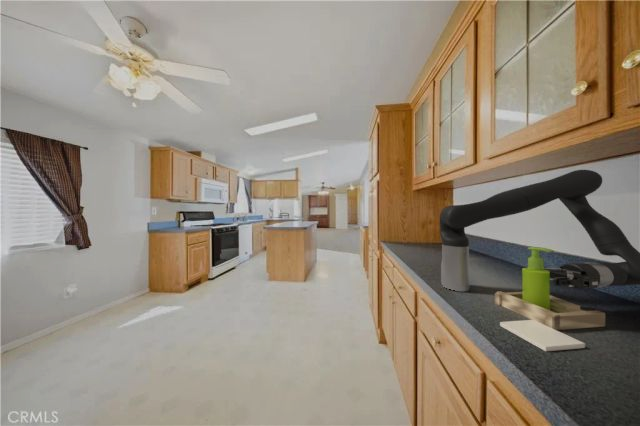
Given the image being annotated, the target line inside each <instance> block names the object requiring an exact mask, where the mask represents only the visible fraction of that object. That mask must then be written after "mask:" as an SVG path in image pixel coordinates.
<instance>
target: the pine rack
mask: <svg viewBox="0 0 640 426" xmlns="http://www.w3.org/2000/svg"><path fill="white" fill-rule="evenodd" d="M494 304H495V305H496V306H498V307H503V308H505V309H508V310H510V311H512V312H514V313H515V314H516V313H517V314H518V315H521V316H522V317H525V318H527V319H528V320H535V321H537V322H539V323H541V324H544V325H546V326H548V327H550V328H552V329H555V330H557V331H561V330H562V331H563V330H574V329H576V330H577V329H585V328H586V329H587V328H599V327H606V312H603V311H600V310H584V311H583V312H568V313H555V312H552V311H550V310H547V309H545V308H542V307H540V306H537V305H534V304H532V303H529V302H527V301H524V300H523V297H522V291H513V292H503V291H502V290H501V291H496V292H495V293H494Z"/></svg>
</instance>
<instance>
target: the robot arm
mask: <svg viewBox="0 0 640 426" xmlns="http://www.w3.org/2000/svg"><path fill="white" fill-rule="evenodd" d="M601 175H602V174H601ZM601 175H600V174H599V173H598V172H596V171H594V170H589V169H577V170H573V171H570V172H568V173H565V174H562V175H560V176H557V177H554V178H552V179H548V180H544V181H539V182H537V183H531V184H529V185H528V184H527V185H524V186H521V187H517V188H512V189H509V190H504V191H502V192H500V193H496V194H494V195H492V196H490V197H487V198H486V199H483V200H481V201H478V202H477V201H476V202H473V203H466V204H456V205H455V204H454V205H449V206H444V208H443V209H442V210H441V211H440V213H439V235H440V238H441V251H442V252H441V255H442V256H441V258H442V259H441V262H440V283H441V284H440V285H443V286H442V287H443V288H444V287H445V288H444V289H446V288H447V289H446V290H449V289H451V290H450V291H453V290H455V292H469V290H470V251H469V250H470V239H469V238H468V237H467V235H466V232H465V231H466V230H465V229H466V228H468V227H470V226H473V225H476V224H478V223H481V222H485V221H487V220H492V219H498V218H503V217H508V216H512V215H516V214H520V213H525V212H528V211H531V210H534V209H536V208H538V207H541V206H543V205H546V204H548V203H551V202H552V201H555V200H560V202H562V204H563V205H564V206H565V207H566V208H567V210H569V212H571V214H572V216H573V217H575V218H576V220H578V222H579V223H580V224H581V225H582V227H583V229H584V230H585V231H586V233H587V234H588V236H589V237H590V239H591V241H592V243H593V244H594V246H595V247H596V250H597V251H598V253H600V254H601V255H603V256H609V257H610V256H617V257H619V258H621V259H623V260H624V261H619V262H613V263H610V262H588V261H587V262H567V263H563V264H562V265H560V267H553V268H552V267H547V266H544V270H547V271H549V272H550V281H552V284H553V286H555V287H566V286H567V287H569V288H572V289H577V290H578V289H579V290H584V289H585V290H587V289H596V288H599V289H600V288H603V287H615V286H616V287H618V286H621V287H622V286H635V285H636V286H637V285H640V251H639V250H638V249H636V248H635V247H634V246H633V244H631V242H630V241H629V240H628V237H626V235H625V234H624V232H623V230H622V229H621V227H619V225H617V224H616V223H615V222H613V221H612V220H610V218H608V217H606V216H604V215H602V214H601V213H599V212H598V211H597V210H595V209H594V208H593V207H592V206H591V204H590V203H589V201H588V199H587V197H586V196H588V195H590V194H592V193H594V192H596V191H597V190H598V189H599V188H600V187H601V186H602V184H603V177H602V176H601Z"/></svg>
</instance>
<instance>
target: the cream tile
mask: <svg viewBox="0 0 640 426" xmlns="http://www.w3.org/2000/svg"><path fill="white" fill-rule="evenodd" d="M499 326H500V327H502V329H503V328H504V329H506V331H508V332H511V333H512V334H514V335H516V336H518V337H519V338H521V339H522V340H525V341H526V342H529V344H532V345H534V346H536V347H537V348H539V349H541V350H542V351H544V352H553V351H554V352H555V351H563V350H565V351H566V350H575V349H585V348H586V342H583V341H581V340H578V339H576V338H574V337H572V336H569V335H567V334H565V333H564V332H561V331H560V330H555V329H552V328H550V327H548V326H546V325H544V324H541V323H539V322H537V321H535V320H531V319H523V320H509V321H500V322H499Z"/></svg>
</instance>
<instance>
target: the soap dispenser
mask: <svg viewBox="0 0 640 426" xmlns="http://www.w3.org/2000/svg"><path fill="white" fill-rule="evenodd" d="M527 250H531V256H529V257H527V267H523V268H522V271H521V277H522V280H521V284H522V290H521V292H522V297H523V300H524V301H527V302H529V303H532V304H534V305H537V306H540V307H542V308H545V309H547V310H550V295H551V292H550V291H551V289H550V286H551V285H550V283H551V282H550V281H551V280H550V272H549V271H547V270H544V258H542V257H541V256H540V251H542V252H545V253H554V252H555V250H553V249H551V248H548V247H547V248H546V247H539V246H528V247H527Z"/></svg>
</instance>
